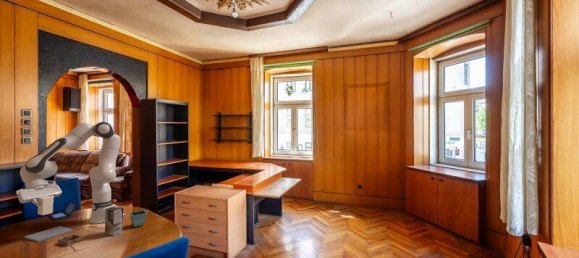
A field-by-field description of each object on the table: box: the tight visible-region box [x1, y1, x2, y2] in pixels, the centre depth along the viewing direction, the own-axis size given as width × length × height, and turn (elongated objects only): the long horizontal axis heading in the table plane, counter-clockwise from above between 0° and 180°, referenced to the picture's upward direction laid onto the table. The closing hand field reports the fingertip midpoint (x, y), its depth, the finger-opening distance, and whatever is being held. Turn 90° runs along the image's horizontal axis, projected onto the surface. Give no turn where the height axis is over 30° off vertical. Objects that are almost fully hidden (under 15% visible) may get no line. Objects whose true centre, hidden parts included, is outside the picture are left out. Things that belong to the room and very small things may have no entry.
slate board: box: [24, 225, 74, 243], centre depth 162 cm, size 18×14×1 cm
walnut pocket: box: [57, 233, 84, 247], centre depth 152 cm, size 8×8×2 cm
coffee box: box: [104, 206, 124, 237], centre depth 166 cm, size 9×6×16 cm
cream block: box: [37, 196, 54, 216], centre depth 160 cm, size 5×5×10 cm
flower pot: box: [129, 209, 148, 228], centre depth 179 cm, size 9×9×9 cm
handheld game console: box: [48, 200, 78, 221], centre depth 194 cm, size 16×13×9 cm
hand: (45, 203), depth 160 cm, fingers closed on cream block, 5 cm apart
